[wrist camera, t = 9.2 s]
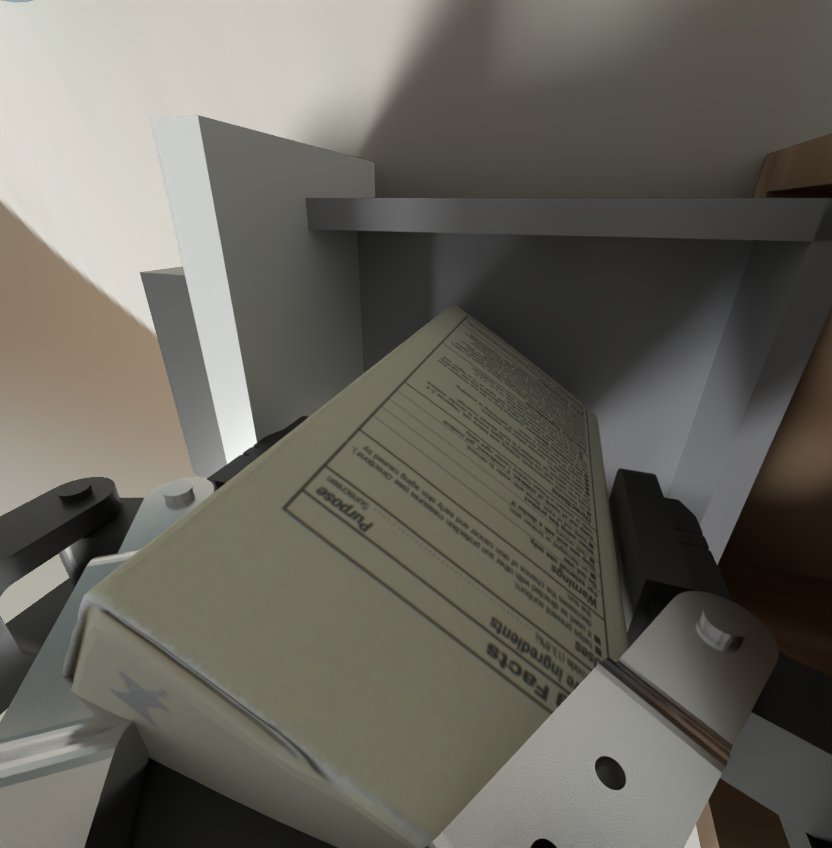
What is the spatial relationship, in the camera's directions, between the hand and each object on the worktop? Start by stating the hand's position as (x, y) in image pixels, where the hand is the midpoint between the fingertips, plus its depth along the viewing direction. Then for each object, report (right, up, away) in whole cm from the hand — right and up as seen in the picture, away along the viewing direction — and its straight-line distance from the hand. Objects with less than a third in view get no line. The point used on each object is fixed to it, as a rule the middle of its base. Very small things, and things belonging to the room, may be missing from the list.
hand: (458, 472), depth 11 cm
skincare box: (+2, +2, +4) cm, 5 cm away
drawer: (0, +4, +7) cm, 8 cm away
